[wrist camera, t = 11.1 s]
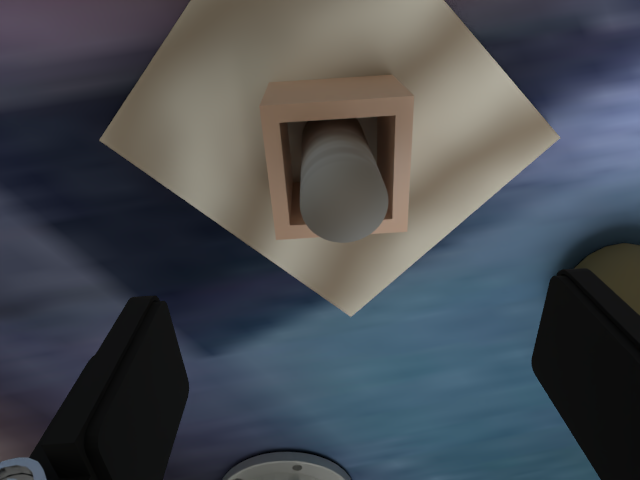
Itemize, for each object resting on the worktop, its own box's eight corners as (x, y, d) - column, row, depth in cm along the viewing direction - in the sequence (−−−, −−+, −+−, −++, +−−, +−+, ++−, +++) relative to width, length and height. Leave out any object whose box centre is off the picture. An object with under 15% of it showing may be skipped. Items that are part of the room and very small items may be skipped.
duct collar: (389, 188, 24) (407, 231, 20) (281, 195, 24) (275, 240, 20) (392, 74, 21) (414, 95, 17) (269, 82, 21) (259, 105, 17)
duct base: (546, 130, 24) (671, 201, 16) (348, 302, 30) (365, 421, 22) (301, -157, 18) (297, -285, 10) (110, 132, 24) (5, 207, 15)
